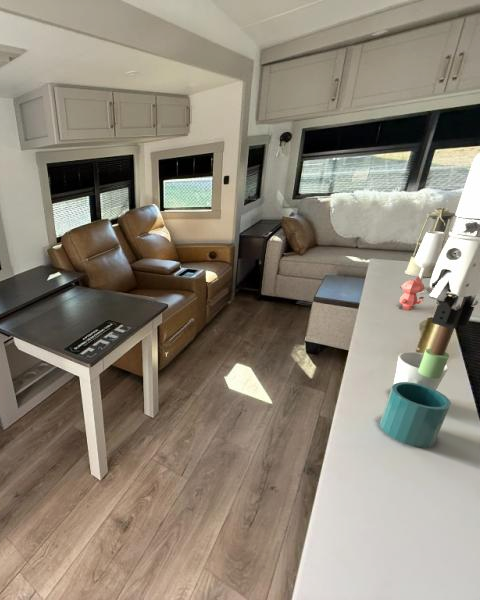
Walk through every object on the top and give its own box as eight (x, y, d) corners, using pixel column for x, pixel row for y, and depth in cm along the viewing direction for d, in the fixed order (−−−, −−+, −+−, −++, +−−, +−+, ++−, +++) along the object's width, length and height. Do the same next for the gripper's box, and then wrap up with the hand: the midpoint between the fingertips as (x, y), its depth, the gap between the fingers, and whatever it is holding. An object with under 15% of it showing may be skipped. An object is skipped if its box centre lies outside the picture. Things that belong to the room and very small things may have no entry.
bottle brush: (434, 369, 65) (463, 294, 58) (445, 379, 62) (477, 301, 56) (414, 368, 66) (440, 293, 59) (423, 377, 63) (452, 300, 57)
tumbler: (418, 424, 71) (434, 384, 67) (442, 454, 64) (462, 412, 60) (372, 417, 74) (384, 379, 70) (390, 445, 67) (404, 405, 63)
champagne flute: (413, 293, 128) (432, 235, 119) (400, 287, 134) (417, 231, 125) (433, 292, 127) (453, 233, 118) (419, 286, 133) (437, 230, 124)
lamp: (437, 272, 144) (460, 205, 133) (435, 280, 137) (460, 210, 125) (405, 269, 152) (425, 205, 140) (402, 276, 144) (422, 209, 133)
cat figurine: (397, 302, 123) (406, 273, 118) (422, 307, 118) (432, 277, 113) (392, 308, 119) (401, 278, 115) (417, 313, 114) (428, 282, 109)
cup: (379, 399, 79) (392, 359, 75) (394, 387, 82) (407, 348, 78) (422, 418, 73) (439, 376, 68) (437, 405, 76) (455, 363, 71)
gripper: (476, 238, 48) (438, 342, 55) (557, 223, 50) (510, 325, 57) (419, 230, 55) (391, 323, 62) (492, 217, 57) (457, 309, 64)
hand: (449, 323), depth 60 cm, fingers closed on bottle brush
